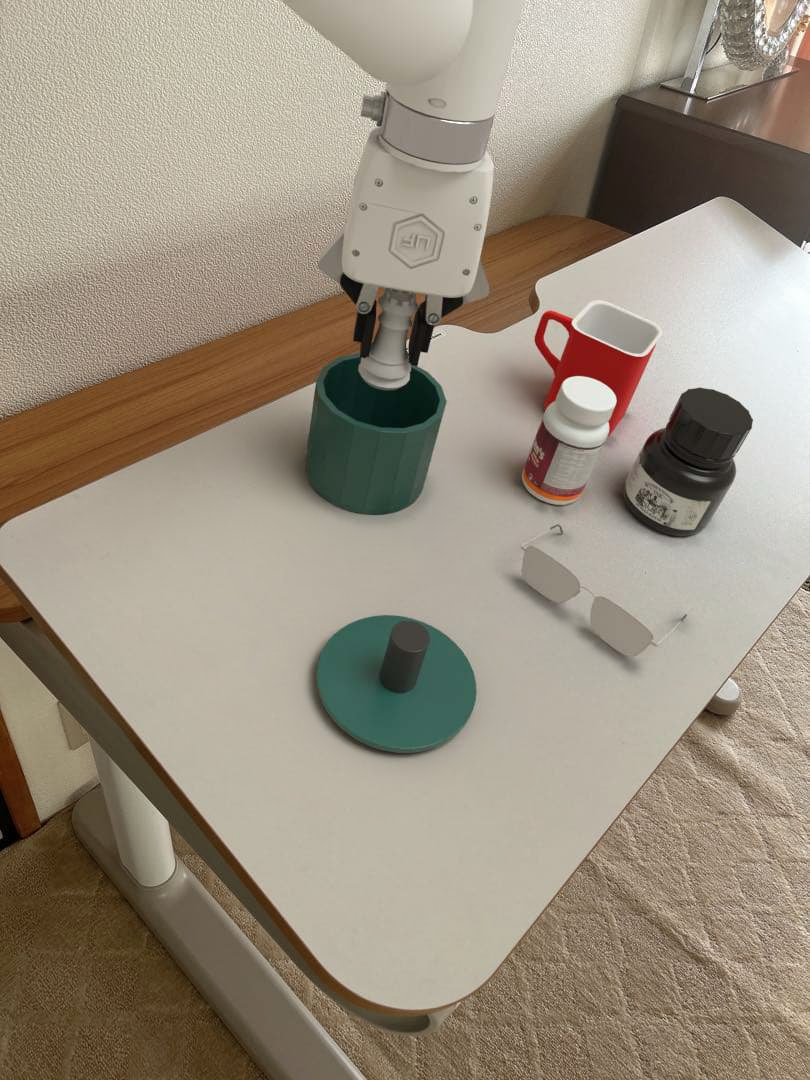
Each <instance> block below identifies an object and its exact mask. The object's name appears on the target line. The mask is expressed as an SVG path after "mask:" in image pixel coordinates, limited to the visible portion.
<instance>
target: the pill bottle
mask: <svg viewBox="0 0 810 1080" xmlns="http://www.w3.org/2000/svg"><path fill="white" fill-rule="evenodd" d="M616 401H617V400H616V396H615V394H614V392H613V391H612V390H611V389H610V388H609V387H608V386H606V385H605V384H603V383H602V382H600V381H597V380H595V379H592V378H589V377H583V376H574V377H570V378H567V379H566V380H565V381H564V382H563V383H562V385H561V387H560V390H559V392H558V394H557V397H556V401H554V402H553V403H551V404H550V405H549V406H548V407H547V409H546V411H545V410H544V413H543V416H542V418H541V421H540V423H539V426H538V429H537V431H536V434H535V436H534V439H533V442H532V445H531V447H530V449H529V453H528V455H527V458H526V461H525V463H524V466H523V470H522V472H521V480H522V484H523V486H524V487H525V489H526V491H528V492H529V493H530V494H531V495H532V496H533V497H534V498H536V499H537V500H540V501H542V502H544V503H547V504H552V505H558V506H561V505H562V506H564V505H565V506H566V505H570V504H572V503H575V501H577V500H578V499H579V498H581V495H582V494H583V492H584V490H585V488H586V486H587V484H588V481H589V479H590V476H591V474H592V472H593V470H594V468H595V465H596V463H597V461H598V458H599V457H600V454H601V452H602V450H603V448H604V445H605V443H606V441H607V439H608V437H609V436H608V434H609V422H608V421H609V420H610V418H611V415H612V412H613V410H614V408H615V405H616ZM607 436H608V437H607Z"/></svg>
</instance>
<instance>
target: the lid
mask: <svg viewBox="0 0 810 1080" xmlns="http://www.w3.org/2000/svg"><path fill="white" fill-rule="evenodd" d="M315 677H316V689H317V693H318V696H319V699H320V701H321V704H322V706H323V707H324V709H325V711H326V713H327V714H328V715H329V717H330V718H331V719H332V721H333V722H334V723H335V724H336V725H337V726H338V727H339V728H340V729H341V730H342V731H343V732H344V733H346V734H347V735H348V736H350V737H352V738H353V739H354V740H357V741H358V742H359V743H362V744H364V745H366V746H368V747H370V748H373V749H377V750H381V751H385V752H389V753H399V754H413V753H421V752H422V753H423V752H426V751H430V750H433V749H436V748H438V747H440V746H442V745H445V744H446V743H448V742H450V741H451V740H452V739H454V738H455V737H456V736H457V735H458V734H459V733H460V732H461V731H462V730H463V729H464V728H465V726H466V725H467V723H468V722H469V720H470V718H471V716H472V714H473V711H474V708H475V705H476V702H477V681H476V676H475V672H474V670H473V667H472V665H471V662H470V661H469V659H468V657H467V655H465V653H464V652H463V649H462V648H460V646H458V644H457V643H456V642H455V641H454V640H452V638H450V637H449V636H448V635H447V634H445V633H444V632H442V631H441V630H440V629H437V628H436V627H435V626H433V625H430V624H428V623H427V622H424V621H422V620H418V619H415V618H412V617H408V616H403V615H402V616H401V615H396V614H395V615H394V614H393V615H391V614H382V615H373V616H368V617H364V618H359V619H357V620H355V621H352V622H350V623H348V624H347V625H345V626H343V627H342V628H340V629H339V630H338V631H337V632H335V633H334V634H333V635H332V636H331V637H330V638H329V640H328V641H327V642H326V644H325V646H324V647H323V649H322V651H321V653H320V655H319V659H318V662H317V666H316V675H315Z"/></svg>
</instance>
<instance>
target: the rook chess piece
mask: <svg viewBox="0 0 810 1080" xmlns="http://www.w3.org/2000/svg"><path fill="white" fill-rule="evenodd" d="M377 303H378V305H379V306H380V309H381V313H379V314H378V315H377V321H378V323H379V324H378V326H377V327H378V328H377V331H376V334H375V336H374V339H373V340H372V343H371V348H370V353H369V357H366V358H361V363H360V364H359V370H358V371H359V373H360V374H361V376H362V378H363V380H364V381H365V382H366V383H367V384H369V385H370V386H372V387H375V388H377V389H381V390H396V389H398V388H401V387H403V386H404V385H405V384H406V383H407V382H408V381H409V380H410V373H409V372H410V371H411V364H410V363H409V353H408V350H407V349H408V347H407V340H408V334H409V329H410V328H412V326H413V321H412V319H411V318H412V316H414V315H415V313H416V312H417V311H418V307H419V304H418V302H417V293H414V292H408V291H402V290H396V289H390V288H385V289H384V293H382V294H381V296H380V297H379V298H378V300H377Z"/></svg>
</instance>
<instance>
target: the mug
mask: <svg viewBox="0 0 810 1080" xmlns="http://www.w3.org/2000/svg"><path fill="white" fill-rule="evenodd" d="M550 320H551V321H555V322H557V323H559V324H561V325H562V326H563V327H564V328H565V329H566V331H567V333H568V337H567V341H566V343H565V346H564V348H563V352H562V354H561V357H560V359H559V358H558V357H557V356H555V354H554V353H552V351H551V350H550V348H549V347H548V346H547V344H546V342H545V333H546V331H547V328H548V323H549V321H550ZM663 335H664V329H663V328H662V327H661V326H660V325H659V324H658V323H657V322H654V321H653V320H650V319H648V318H645V317H643V316H641V315H639V314H637V313H635V312H632V311H630V310H627V309H626V308H623V307H621V306H618V305H616V304H614V303H612V302H610V301H606V300H603V299H593V300H591V301H589V302H588V303H587V304H586V305H585V306H584V308H582V309H581V310H580V311H579V312H578V314H576V315H575V317H574V318H573V317H570V316H567V315H564V314H562V313H560V312H557V311H554V310H546V311H545V312H544V313H543V314H542V315H541V317H540V320H539V322H538V326H537V329H536V331H535V334H534V344H535V346H536V348H537V350H538V352H539V353H540V354H541V356H542V357H543V358H544V360H545V361H546V363H547V364H548V365H549V367H550V368H551V369H552V371H553V378H552V382H551V384H550V387H549V390H548V393H547V395H546V398H545V401H544V403H543V410H544V412H545V411H546V409H547V407H548V406H549V405H550V404H551V403H553V402H554V401H556V397H557V394H558V392H559V390H560V387H561V385H562V383H563V382H564V381H565V380H566V379H567V378H570V377H574V376H583V377H589V378H592V379H595V380H597V381H600V382H602V383H603V384H605V385H606V386H608V387H609V388H610V389H611V390H612V391H613V392H614V394H615V396H616V400H617V401H616V405H615V408H614V410H613V412H612V415H611V418H610V420H609V421H608V422H609V434H608V436H607V438H609V437H610V436H611V434H612V433H613V432H614V430H615V429H616V428H617V426H618V425H619V424H620V422H621V421H622V419H623V418H624V416H625V415H626V412H627V411H628V408H629V405H630V404H631V401H632V400H633V397H634V395H635V392H636V390H637V388H638V386H639V383H640V381H641V379H642V377H643V375H644V373H645V370H646V368H647V365H648V364H649V361H650V359H651V357H652V355H653V352H654V350H655V348H656V346H657V343H658V342H659V340H660V339H661V338H662V337H663Z"/></svg>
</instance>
